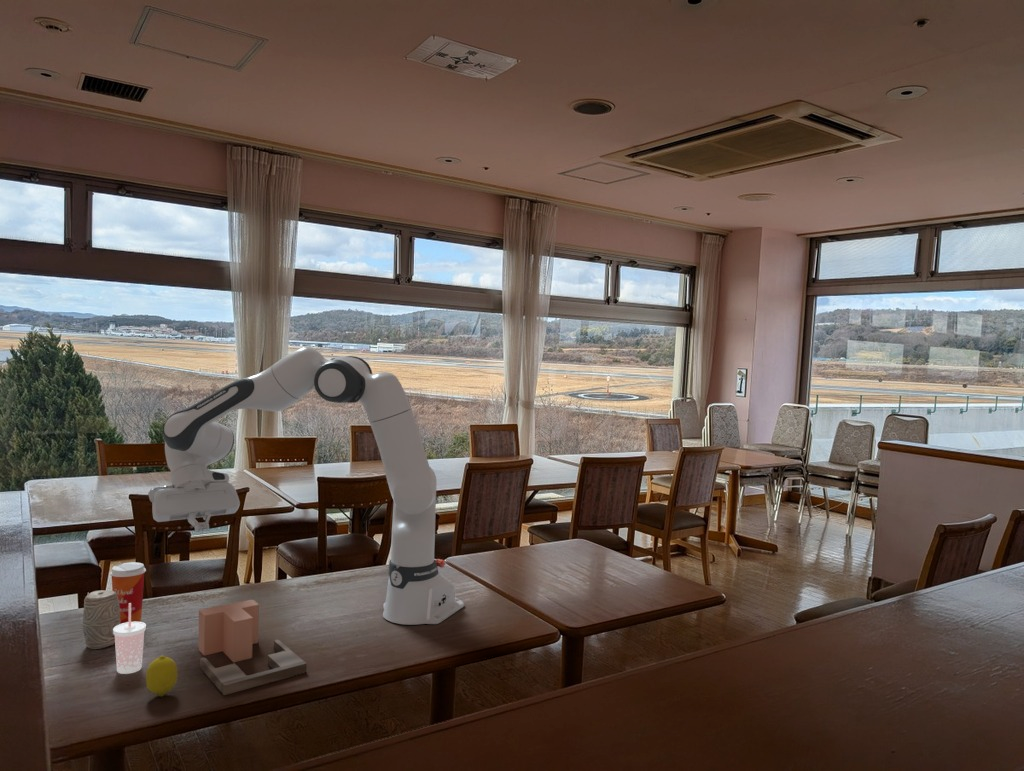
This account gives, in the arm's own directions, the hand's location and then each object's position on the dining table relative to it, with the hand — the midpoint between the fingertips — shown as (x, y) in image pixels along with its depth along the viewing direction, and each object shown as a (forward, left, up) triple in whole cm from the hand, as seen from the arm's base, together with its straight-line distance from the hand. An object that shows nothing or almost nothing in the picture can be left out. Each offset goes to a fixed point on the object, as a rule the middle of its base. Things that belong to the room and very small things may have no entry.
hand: (202, 530), depth 178 cm
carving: (+23, -3, -23) cm, 32 cm away
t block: (+6, +22, -22) cm, 32 cm away
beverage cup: (+25, +13, -23) cm, 36 cm away
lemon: (+27, +29, -23) cm, 45 cm away
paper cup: (+13, -11, -23) cm, 28 cm away
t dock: (+9, +32, -22) cm, 40 cm away
